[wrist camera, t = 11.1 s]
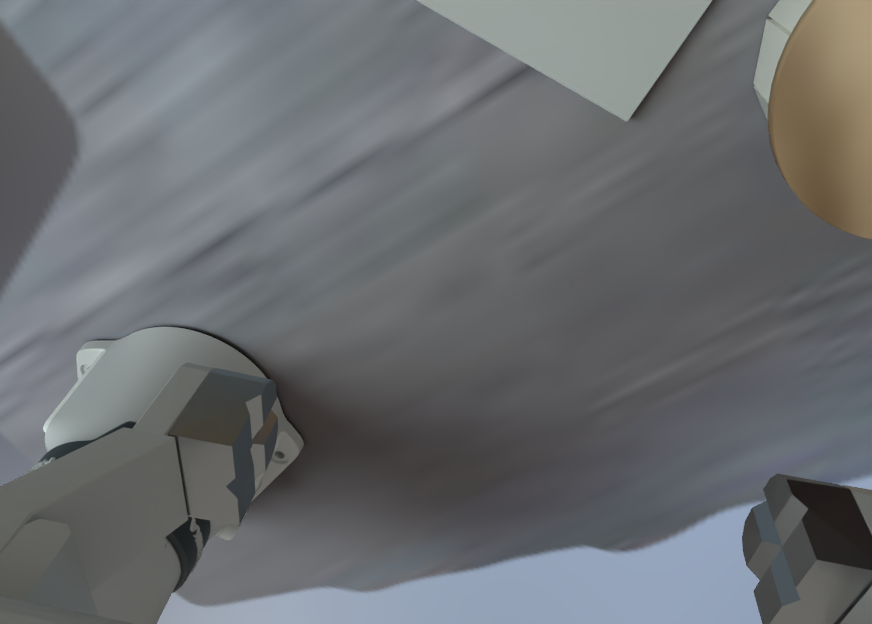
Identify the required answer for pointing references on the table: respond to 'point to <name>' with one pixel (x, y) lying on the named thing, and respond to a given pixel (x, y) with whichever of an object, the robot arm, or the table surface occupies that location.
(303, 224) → the table surface
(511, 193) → the table surface
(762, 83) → the bowl
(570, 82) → the trivet
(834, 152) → the lid
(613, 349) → the table surface
